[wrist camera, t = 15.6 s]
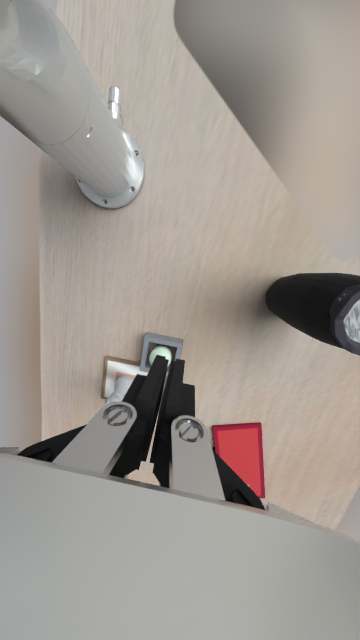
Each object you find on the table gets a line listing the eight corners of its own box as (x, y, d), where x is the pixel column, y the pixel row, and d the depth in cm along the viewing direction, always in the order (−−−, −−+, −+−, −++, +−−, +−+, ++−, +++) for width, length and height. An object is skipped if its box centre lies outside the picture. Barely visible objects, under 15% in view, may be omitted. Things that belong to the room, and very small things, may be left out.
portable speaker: (288, 326, 39) (377, 378, 20) (252, 299, 38) (310, 327, 19) (319, 293, 37) (453, 315, 18) (283, 263, 36) (381, 254, 17)
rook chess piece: (122, 394, 44) (107, 419, 37) (112, 378, 44) (95, 401, 36) (139, 387, 44) (127, 411, 36) (129, 371, 43) (115, 392, 35)
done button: (153, 342, 41) (150, 347, 38) (173, 346, 41) (172, 352, 38) (150, 360, 42) (147, 367, 39) (170, 364, 42) (168, 371, 39)
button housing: (147, 332, 41) (144, 336, 39) (183, 339, 41) (182, 343, 39) (142, 365, 43) (139, 370, 41) (176, 372, 43) (175, 378, 41)
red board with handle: (209, 515, 53) (264, 513, 52) (210, 528, 50) (268, 526, 49) (197, 424, 47) (259, 419, 46) (197, 433, 44) (263, 429, 43)
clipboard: (106, 355, 43) (103, 358, 42) (170, 368, 43) (169, 372, 41) (102, 396, 46) (99, 401, 44) (163, 409, 46) (161, 414, 44)
